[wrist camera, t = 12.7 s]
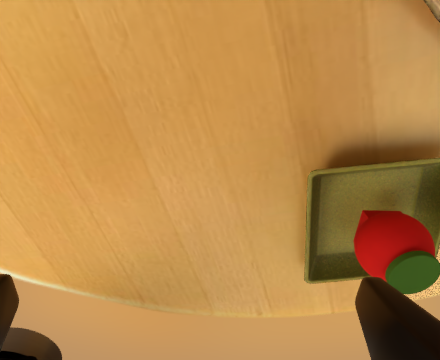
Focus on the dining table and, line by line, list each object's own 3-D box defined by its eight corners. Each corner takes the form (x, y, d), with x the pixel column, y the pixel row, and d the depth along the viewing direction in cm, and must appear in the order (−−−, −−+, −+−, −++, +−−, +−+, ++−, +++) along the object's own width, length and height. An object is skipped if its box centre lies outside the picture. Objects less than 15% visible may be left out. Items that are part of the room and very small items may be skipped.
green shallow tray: (296, 264, 24) (304, 285, 22) (298, 156, 20) (308, 171, 18) (415, 253, 24) (432, 273, 22) (441, 142, 20) (465, 155, 18)
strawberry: (397, 252, 21) (438, 304, 17) (337, 251, 21) (365, 304, 17) (418, 199, 19) (469, 244, 16) (351, 197, 19) (387, 243, 15)
